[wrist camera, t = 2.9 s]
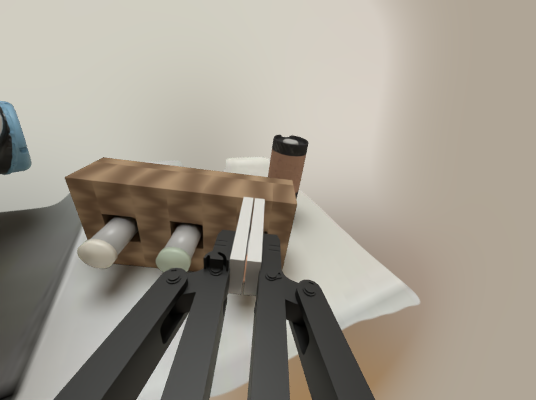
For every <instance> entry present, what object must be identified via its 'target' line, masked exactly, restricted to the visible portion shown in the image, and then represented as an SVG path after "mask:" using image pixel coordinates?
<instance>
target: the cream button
mask: <svg viewBox="0 0 536 400" xmlns="http://www.w3.org/2000/svg"><path fill="white" fill-rule="evenodd" d="M137 232H138V226H137V222H136V221H135V220H134V219H133V218H132V217H128V216H118V215H116V216H115V217H114V218H113V219H111V220H110V221H109V222H108V223H107V224H106V225H105V226H104V227H103V228H102V229H101V230H100V231H99V232H97V233H96V234H95V235H94V236H93V237H92V238H91V239H89V240H87V241H85V242H84V243H83V244H82V245H81V246H80V247H79V248H78V250H77V253H78V256H79V258H80V259H81V260H82V261H83V262H84V263H86V264H87V265H89V266H92V267H94V268H99V269H104V268H108V267H110V266H111V265H112V264H113V263H114V262H115V260H116V259H117V256H118V254H119V253H120V252H121V251H122V250H123V248H124V247H125V246H126V245H127V244H128V242H129V241H130V240H131V239H132V238H133V236H134V235H135V234H136V233H137Z"/></svg>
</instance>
